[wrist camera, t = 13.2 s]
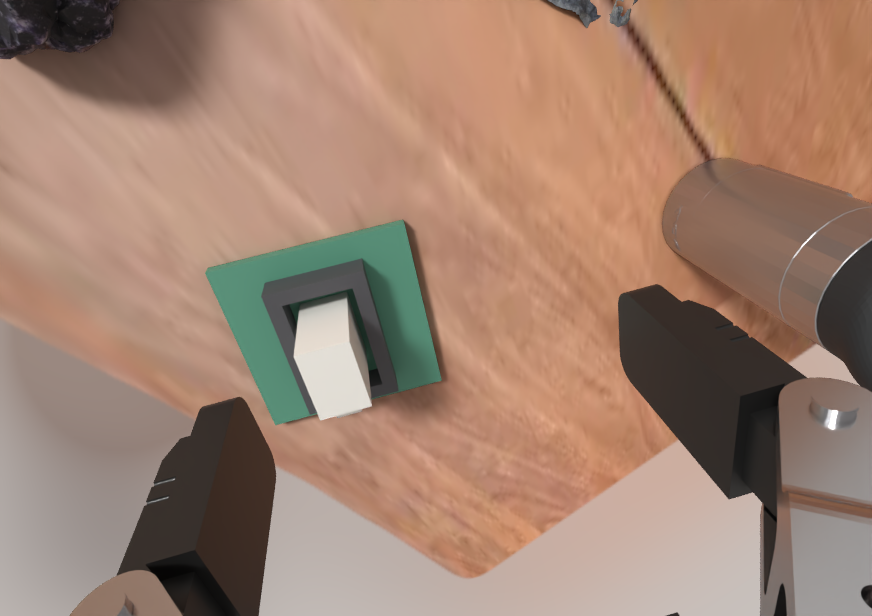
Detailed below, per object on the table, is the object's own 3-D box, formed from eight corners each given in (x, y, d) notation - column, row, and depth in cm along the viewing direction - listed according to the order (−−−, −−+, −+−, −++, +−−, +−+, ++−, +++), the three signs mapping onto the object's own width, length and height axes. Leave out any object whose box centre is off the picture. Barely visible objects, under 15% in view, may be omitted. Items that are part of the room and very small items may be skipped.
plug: (346, 291, 43) (349, 341, 37) (369, 358, 47) (375, 416, 40) (299, 304, 43) (293, 356, 36) (325, 370, 47) (324, 430, 40)
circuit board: (402, 219, 42) (408, 234, 39) (439, 374, 50) (446, 396, 47) (207, 267, 42) (198, 286, 39) (276, 418, 49) (272, 443, 46)
